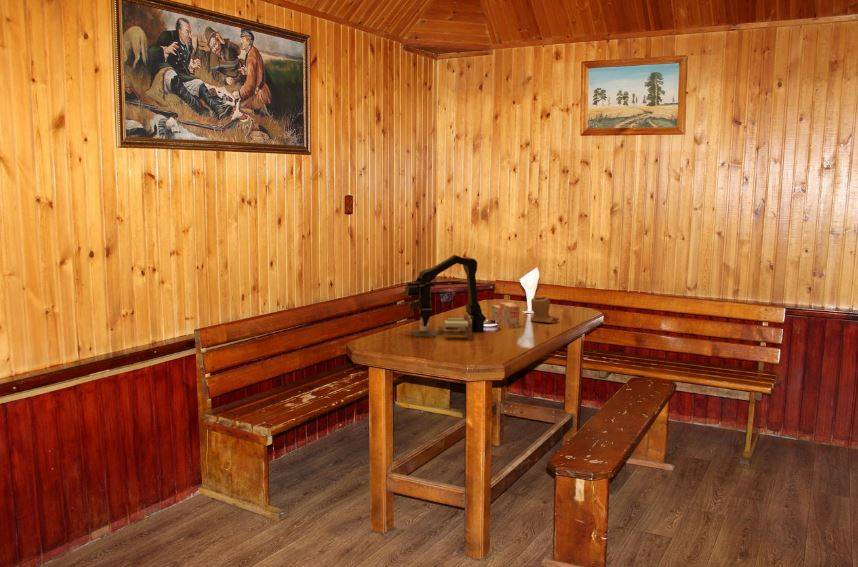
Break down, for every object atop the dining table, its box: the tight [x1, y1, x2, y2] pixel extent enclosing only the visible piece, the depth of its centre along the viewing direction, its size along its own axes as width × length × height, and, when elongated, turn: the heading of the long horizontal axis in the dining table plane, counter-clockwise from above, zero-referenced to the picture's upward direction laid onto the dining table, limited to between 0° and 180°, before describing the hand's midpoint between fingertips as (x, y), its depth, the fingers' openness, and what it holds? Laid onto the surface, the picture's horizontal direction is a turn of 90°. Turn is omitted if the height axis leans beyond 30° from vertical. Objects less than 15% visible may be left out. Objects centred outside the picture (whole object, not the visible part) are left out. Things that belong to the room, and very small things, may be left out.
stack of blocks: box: [491, 302, 521, 329], centre depth 414 cm, size 21×6×12 cm, turn 22°
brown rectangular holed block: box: [437, 313, 473, 341], centre depth 381 cm, size 16×25×9 cm, turn 3°
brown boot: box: [530, 295, 560, 324], centre depth 422 cm, size 15×12×15 cm
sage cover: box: [443, 317, 469, 326], centre depth 372 cm, size 12×8×3 cm, turn 93°
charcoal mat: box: [412, 329, 438, 338], centre depth 382 cm, size 12×12×1 cm
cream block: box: [419, 317, 430, 331], centre depth 382 cm, size 4×4×6 cm
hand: (424, 325), depth 382 cm, fingers open, 5 cm apart
